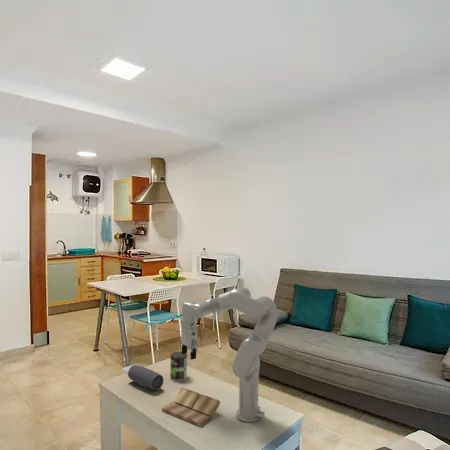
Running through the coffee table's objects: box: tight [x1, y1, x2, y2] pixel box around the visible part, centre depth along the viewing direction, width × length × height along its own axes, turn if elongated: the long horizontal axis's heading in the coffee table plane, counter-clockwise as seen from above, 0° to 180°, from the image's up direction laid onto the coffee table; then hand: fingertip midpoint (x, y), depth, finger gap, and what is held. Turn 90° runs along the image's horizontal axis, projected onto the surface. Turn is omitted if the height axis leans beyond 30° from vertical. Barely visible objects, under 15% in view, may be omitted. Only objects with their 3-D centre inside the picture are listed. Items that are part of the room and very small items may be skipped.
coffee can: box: [169, 351, 188, 382], centre depth 217 cm, size 10×10×14 cm
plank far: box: [173, 387, 201, 410], centre depth 184 cm, size 12×8×2 cm
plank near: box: [191, 393, 221, 419], centre depth 176 cm, size 12×8×2 cm
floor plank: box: [161, 401, 212, 428], centre depth 173 cm, size 25×8×2 cm, turn 56°
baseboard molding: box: [120, 362, 138, 374], centre depth 220 cm, size 31×3×12 cm
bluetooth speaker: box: [127, 364, 164, 391], centre depth 205 cm, size 23×9×10 cm, turn 51°
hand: (188, 356), depth 190 cm, fingers open, 9 cm apart
